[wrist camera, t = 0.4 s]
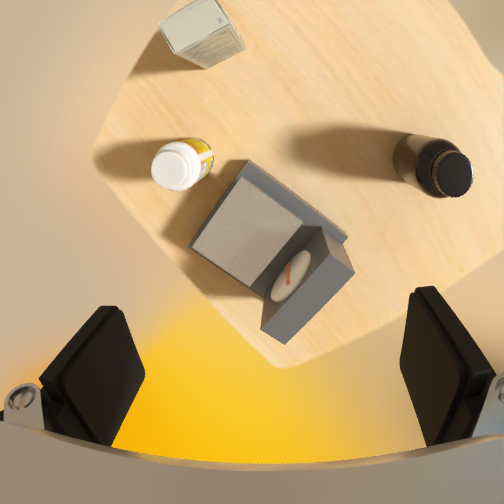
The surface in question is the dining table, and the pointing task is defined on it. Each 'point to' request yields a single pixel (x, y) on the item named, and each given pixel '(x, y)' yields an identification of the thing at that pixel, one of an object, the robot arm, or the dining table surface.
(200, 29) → the skincare box
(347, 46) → the dining table surface
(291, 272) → the scale base
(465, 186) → the supplement bottle
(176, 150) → the supplement bottle
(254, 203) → the scale pan
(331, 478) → the robot arm
